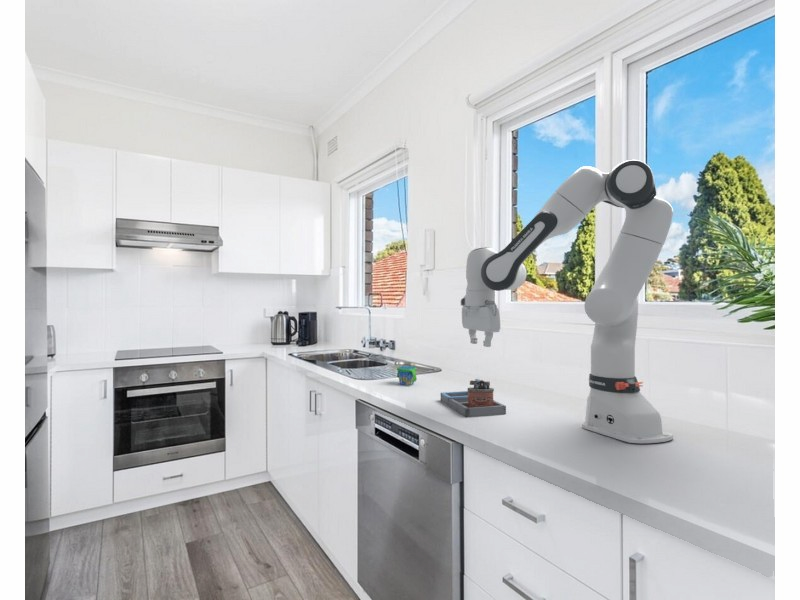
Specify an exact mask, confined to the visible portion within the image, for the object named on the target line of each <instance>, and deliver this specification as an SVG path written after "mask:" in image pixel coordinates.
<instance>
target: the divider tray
mask: <svg viewBox="0 0 800 600" xmlns="http://www.w3.org/2000/svg"><path fill="white" fill-rule="evenodd" d="M480 380H481V379H479V378H475V379H474V381H480ZM478 386H479V385H476V387H478ZM485 386H486V388H487V385H485ZM440 402H442V403H444V404H445V405H447V406H448V407H449V408H451V409H453V410H454V411H456V412H458V413H459V414H461V415H462V416H464V417H466V418H472V417H473V418H474V417H487V416H497V415H498V416H499V415H501V416H502V415H506V414H507V405H505V404H503V403H500V402H499V401H496V400H494V399H493V406H486V407H473V408H468V390H464V391H449V392H446V391H445V392H440Z"/></svg>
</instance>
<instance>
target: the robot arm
mask: <svg viewBox="0 0 800 600" xmlns="http://www.w3.org/2000/svg"><path fill="white" fill-rule="evenodd" d="M601 202H603V203H606V204H608V205H611V206H614V207H616V208H621V209H622V208H623V209H624V210H625V219H624V222H623V225H622V228H621V230H620V232H619V234H618V236H617V239H616V241H615V243H614V246H613V247H612V250H611V253H610V255H609V257H608V259H607V262H606V264H605V266H603V268H602V270H601V271H600V273H599V275H598V277H597V278H596V281H595V283H594V284H593V286H592V288H591V290H590V292H589V293H588V295H587V296H586V298H585V300H584V311H585V314H586V315H587V318H589V319H590V321H592V322H593V323H594V328H593V329H594V331H593V336H592V340H591V344H590V373H589V375H588V376H589V377H588V386H589V388H590V391H589V394H588V397H587V398H586V409H585V418H584V420H585V421H584V422H583V423H582V425H581V428H582V429H584V430H586V431H587V430H588V431H591V432H594V433H597V434H601V435H604V436H606V437H609V438H613V439H617V440H619V441H622V442H626V443H629V444H656V443H664V442H668V441H669V442H670V441H671V440H673V439H674V434H673V433H671V432H668V431H665V430H664V429H663V422H662V416H661V413H660V412H659V411H658V410H657V409H656V408H655V407H654V406H653V404H651V402H649V400H648V399H647V398H646V397H645V396H644V395H643V394H642V393H641V392H640V391H641V387H643V385H642V384H644V382H643V381H640V382H639V381H638V379H637V377H636V375H635V374H636V370H635V369H636V367H635V366H636V364H635V362H636V360H635V357H636V354H635V351H636V350H635V348H636V347H635V346H636V340H637V338H636V337H637V329H638V315H639V314H638V313H639V301H638V296H639V295H640V292H641V291H642V289H643V287H644V286H645V283H646V282H647V280H648V278H649V277H650V275H651V274H652V271H653V270H654V267H655V265H656V262H657V260H658V258H659V255H660V253H661V251H662V249H663V247H664V244H665V242H666V240H667V237H668V234H669V233H670V232H669V231H670V228H671V225H672V220H673V216H674V209H673V206H672V205H671V203H669V202H668V201H667V200H665V199H663V198H661V197H658V196H657V189H656V182H655V176H654V173H653V171H652V168H651V167H650V166H649V165H648V164H647V163H646V162H645V161H641V160H638V159H629V160H624V161H622V162H619V163H618V164H617V165H615V166H614V167H613V168H612V170H611V171H610V172H602V171H600V170H599V169H598V168H595V167H593V166H582V167H580V168H578V169H577V170H576V171H574V172H573V173H572V174H571V175H570V176H569V177H568V178H567V179H565V180H564V181H563V182H562V183H561V184H560V185H559V186H558V187H557V189H555V191H554V192H553V193H552V194H551V196H550V197H549V198H548V199H547V200H546V202H544V205H543V206H542V207H541V208H540V210H538V212H537V213H535V215H534V217H533V218H532V219H531V220H530V221H529V223H527V224H526V226H524V227H523V229H522V230H520V232H519V233H518V234H517V235H516V236H515V237H514V238H513V239H512V240H511V241H510V242H509V243H508V244H507V245H506V246H505V247H504V248H503V249H502V250H501V251H498V252H497V251H496V250H494V249H493V248H492V247H487V246H486V247H480V248H479V247H478V248H475V249H473V250H471V251H470V252H469V253H468V255H467V258H466V266H465V267H466V268H465V269H466V270H465V278H466V289H465V295H464V296H463V297H462V298H461V299H460V306H461V324H462V327H463V329H466V330H467V329H468V335H469V338H470V341H469V342H470V344H472V345H474V344H475V345H477V344H478V338H477V334H476V333H477V331H479V332H483V333H484V336H485V337H484V340H483V347H484V348H490V347H492V339H493V337H494V333H500V330H501V315H500V309H499V308H498V305H497V303H496V301H495V300H496V292H497V291H504V290H505V291H506V290H507V291H508V290H509V291H510V290H515V289H518V288H520V287H521V286H523V285H524V283H526V280H527V276H528V270H527V267H526V265H525V264H524V262H525V261H526V260H527V259H528V258H529V257H530V256H531V255H532V254H533V253H534V252H535V251H536V250H537V249H538V248H539V247H540V246H541V244H543V243H544V242H546V241H547V240H549V239H551V238H554V237H557V236H561V235H565V234H568V233H569V232H570V231H572V230H573V229H574V228H575V227H577V226H578V225H579V224H580V223H581V222H582V221H583V220H584V219H585V218H586V217H587V216H588V215H589V213H590V212H591V211H592V210H593V209H594V208H595V207H596V206H597V205H599V204H600V203H601Z"/></svg>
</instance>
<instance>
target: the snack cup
mask: <svg viewBox="0 0 800 600" xmlns="http://www.w3.org/2000/svg"><path fill="white" fill-rule="evenodd" d="M396 371H397V373H396V374H397V375H396V376H397V378H398V381H399V385H400V386H405V387H406V386H407V387H409V386H410V387H411V386H414V383H415V382H416V381H417V380H418V378H417V374H416V371H417V367H415V366H411V365H408V366H407V365H404V366H398V367H396Z"/></svg>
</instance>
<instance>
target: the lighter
mask: <svg viewBox="0 0 800 600" xmlns="http://www.w3.org/2000/svg"><path fill="white" fill-rule="evenodd" d="M469 385H471V386H472V387H471V386H470V387H467V391H468V408H473V407H486V406H493V400H494V392H495V388H493V387H490V385H491V382H490V381H489V380H487V381H484V380H483V379H480V381H475V380H470V381H469ZM476 385H479V386H478V387H476ZM485 385H487V388H486V386H485Z"/></svg>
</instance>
